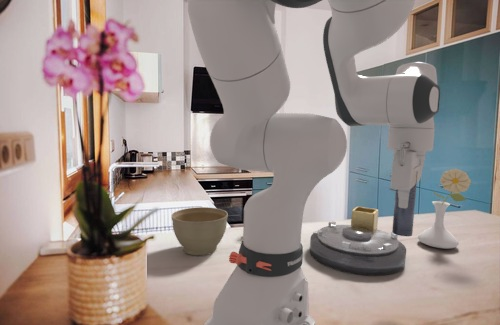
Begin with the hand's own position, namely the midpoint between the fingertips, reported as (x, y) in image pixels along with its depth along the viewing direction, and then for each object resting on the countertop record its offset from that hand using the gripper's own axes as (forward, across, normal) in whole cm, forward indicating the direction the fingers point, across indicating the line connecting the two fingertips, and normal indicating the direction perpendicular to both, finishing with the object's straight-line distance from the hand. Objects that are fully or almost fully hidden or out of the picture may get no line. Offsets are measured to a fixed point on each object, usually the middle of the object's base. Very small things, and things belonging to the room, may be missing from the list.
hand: (405, 205), depth 73 cm
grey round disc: (+15, +17, +14) cm, 27 cm away
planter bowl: (+20, -6, +53) cm, 57 cm away
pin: (+6, 0, 0) cm, 6 cm away
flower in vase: (+19, +41, -6) cm, 45 cm away
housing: (+20, +17, +14) cm, 29 cm away
